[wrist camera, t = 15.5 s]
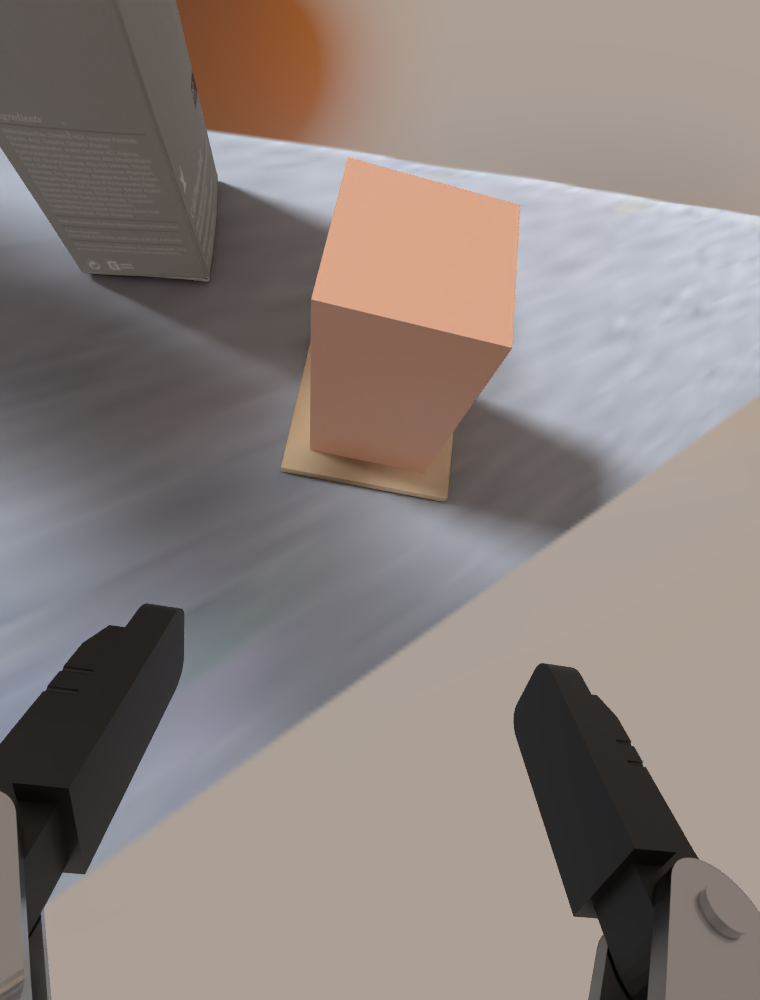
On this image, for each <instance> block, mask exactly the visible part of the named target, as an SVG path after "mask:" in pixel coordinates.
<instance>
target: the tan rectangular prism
mask: <svg viewBox="0 0 760 1000" xmlns="http://www.w3.org/2000/svg"><path fill="white" fill-rule="evenodd" d="M519 220H520V205H518V204H514V203H511V202H507V201H503V200H500V199H496V198H493V197H489V196H485V195H482V194H478V193H475V192H471V191H467V190H464V189H460V188H457V187H453V186H450V185H446V184H442V183H439V182H435V181H432V180H428V179H424V178H421V177H417V176H414V175H410V174H406V173H403V172H399V171H396V170H392V169H388V168H385V167H381V166H378V165H374V164H371V163H367V162H363V161H360V160H356V159H353V158H349V157H348V159H347V163H346V167H345V171H344V175H343V179H342V182H341V186H340V190H339V194H338V198H337V202H336V206H335V209H334V213H333V217H332V221H331V225H330V229H329V232H328V236H327V240H326V244H325V248H324V252H323V255H322V259H321V263H320V267H319V271H318V275H317V279H316V282H315V286H314V290H313V294H312V298H311V384H310V450H314V451H318V452H323V453H328V454H333V455H338V456H343V457H348V458H352V459H357V460H362V461H367V462H372V463H377V464H382V465H387V466H391V467H396V468H401V469H406V470H411V471H416V472H421V473H425V471H426V470H427V469H428V467H429V466H430V464H431V463H432V461H433V460H434V459H435V457H436V456H437V454H438V453H439V451H440V450H441V449H442V447H443V446H444V444H445V443H446V442H447V440H448V439H449V437H450V436H451V434H452V433H453V432H454V430H455V429H456V427H457V426H458V424H459V423H460V422H461V420H462V419H463V417H464V416H465V414H466V413H467V412H468V410H469V409H470V407H471V406H472V404H473V403H474V402H475V400H476V399H477V397H478V396H479V394H480V393H481V392H482V390H483V389H484V387H485V386H486V384H487V383H488V382H489V380H490V379H491V377H492V376H493V374H494V373H495V372H496V370H497V369H498V367H499V366H500V365H501V363H502V362H503V360H504V359H505V357H506V356H507V355H508V353H509V352H510V350H511V349H512V342H513V325H514V307H515V290H516V272H517V255H518V237H519Z"/></svg>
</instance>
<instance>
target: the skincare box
mask: <svg viewBox="0 0 760 1000" xmlns="http://www.w3.org/2000/svg"><path fill="white" fill-rule="evenodd" d="M0 147H1V149H2V150H3V152H4V153H5V155H6V156H7V158H8V159H9V161H10V162H11V164H12V165H13V167H14V168H15V170H16V171H17V173H18V175H19V176H20V178H21V179H22V181H23V182H24V184H25V185H26V187H27V188H28V190H29V191H30V193H31V194H32V196H33V197H34V199H35V200H36V202H37V203H38V205H39V206H40V208H41V210H42V211H43V213H44V214H45V216H46V217H47V219H48V220H49V222H50V223H51V225H52V226H53V228H54V229H55V231H56V232H57V234H58V236H59V237H60V239H61V240H62V242H63V243H64V245H65V246H66V248H67V250H68V251H69V253H70V254H71V256H72V257H73V259H74V260H75V262H76V263H77V265H78V266H79V268H80V269H81V271H82V272H84V273H93V274H105V275H128V276H149V277H161V278H174V279H187V280H195V281H203V282H208V281H209V280H210V269H211V262H212V255H213V248H214V239H215V229H216V217H217V197H218V177H217V173H216V169H215V164H214V160H213V156H212V151H211V147H210V143H209V139H208V135H207V131H206V127H205V123H204V118H203V114H202V110H201V106H200V101H199V97H198V93H197V89H196V84H195V80H194V75H193V72H192V68H191V64H190V60H189V56H188V51H187V47H186V43H185V39H184V35H183V30H182V26H181V22H180V17H179V13H178V9H177V4H176V0H0Z"/></svg>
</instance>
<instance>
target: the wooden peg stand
mask: <svg viewBox="0 0 760 1000" xmlns="http://www.w3.org/2000/svg"><path fill="white" fill-rule="evenodd" d="M310 384H311V341H310V346H309V350H308V354H307V358H306V363H305V367H304V371H303V375H302V380H301V384H300V388H299V392H298V397H297V401H296V405H295V409H294V414H293V418H292V422H291V426H290V431H289V435H288V439H287V443H286V448H285V452H284V456H283V460H282V465H281V471H282V472H288V473H293V474H298V475H304V476H309V477H314V478H320V479H325V480H330V481H336V482H341V483H346V484H352V485H357V486H362V487H368V488H373V489H378V490H384V491H389V492H394V493H400V494H405V495H410V496H416V497H421V498H426V499H432V500H437V501H442V502H445V501H446V500H447V497H448V486H449V475H450V464H451V454H452V443H453V433H452V434H451V436H450V437H449V439H448V440H447V442H446V443H445V444H444V446H443V447H442V449H441V450H440V451H439V453H438V454H437V456H436V457H435V459H434V460H433V461H432V463H431V464H430V466H429V467H428V469H427V470H426V471H425V473H421V472H416V471H411V470H406V469H401V468H396V467H391V466H387V465H382V464H377V463H372V462H367V461H362V460H357V459H352V458H348V457H343V456H338V455H333V454H328V453H323V452H318V451H314V450H310Z"/></svg>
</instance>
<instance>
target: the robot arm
mask: <svg viewBox="0 0 760 1000" xmlns="http://www.w3.org/2000/svg"><path fill="white" fill-rule="evenodd" d="M183 661H184V611H183V609H180V608H174V607H167V606H160V605H153V604H147V603H146V604H143V605H142V606H141V607H140V608H139V609H138V610H137V612H136V613H135V615H134V616H133V617H132V619H131V620H130V621H129V623H128V624H127V625H126V627H119V626H111V625H109V626H107V627H106V628H104V629H103V630H101V631H100V632H98V633H97V634H95V635H94V636H92V637H91V638H89V639H88V640H86V641H85V642H83V643H82V644H81V646H80V647H79V648H78V649H77V651H76V652H75V653H74V654H73V655H72V657H71V658H70V659H69V660H68V662H67V663H66V664H65V665H64V668H63V670H62V671H59V673H58V674H57V675H56V676H55V677H54V679H53V680H52V681H51V682H50V684H49V685H48V686H47V690H46V691H43V692H42V693H41V695H40V696H39V697H38V698H37V699H36V701H35V702H34V703H33V704H32V706H31V707H30V708H29V709H28V710H27V712H26V713H25V714H24V715H23V717H22V718H21V719H20V720H19V721H18V723H17V724H16V725H15V726H14V728H13V729H12V730H11V731H10V732H9V734H8V735H7V736H6V737H5V739H4V740H3V741H2V742H1V743H0V1000H51V990H50V977H49V966H48V954H47V944H46V930H45V918H44V906H45V904H46V903H47V901H48V899H49V897H50V895H51V893H52V891H53V889H54V887H55V886H56V884H57V882H58V880H59V878H60V876H61V874H62V872H64V873H76V874H85V873H86V871H87V869H88V867H89V865H90V863H91V861H92V859H93V857H94V855H95V853H96V851H97V849H98V847H99V845H100V843H101V841H102V839H103V837H104V834H105V832H106V830H107V828H108V826H109V824H110V822H111V820H112V818H113V816H114V814H115V812H116V810H117V808H118V806H119V804H120V802H121V800H122V798H123V796H124V794H125V792H126V790H127V788H128V786H129V784H130V782H131V779H132V777H133V775H134V773H135V771H136V769H137V767H138V765H139V763H140V761H141V759H142V757H143V755H144V753H145V751H146V749H147V747H148V745H149V743H150V741H151V739H152V737H153V735H154V733H155V731H156V729H157V727H158V724H159V722H160V720H161V718H162V716H163V714H164V712H165V710H166V708H167V706H168V704H169V702H170V700H171V698H172V696H173V694H174V692H175V690H176V687H177V685H178V682H179V679H180V676H181V672H182V668H183ZM514 730H515V735H516V738H517V741H518V744H519V747H520V751H521V754H522V757H523V760H524V763H525V766H526V769H527V772H528V776H529V779H530V782H531V785H532V788H533V791H534V794H535V798H536V801H537V804H538V807H539V810H540V813H541V816H542V819H543V822H544V826H545V828H546V832H547V835H548V838H549V841H550V844H551V847H552V850H553V853H554V857H555V859H556V863H557V866H558V869H559V872H560V875H561V878H562V882H563V885H564V888H565V891H566V894H567V897H568V900H569V903H570V906H571V909H572V913H573V916H575V917H588V918H598V920H599V923H600V925H601V928H602V931H603V934H604V935H603V936H602V937H601V939H600V940H599V943H598V947H597V952H596V958H595V964H594V970H593V975H592V981H591V988H590V994H589V999H588V1000H760V913H759V911H758V910H757V908H756V907H755V905H754V904H753V903H752V901H751V900H750V899H749V898H748V897H747V895H746V894H745V893H744V892H743V891H742V890H741V889H740V888H739V887H738V886H737V885H736V884H735V883H734V882H733V881H732V880H731V879H730V878H729V877H728V876H726V875H725V874H724V873H722V872H721V871H720V870H718V869H717V868H715V867H713V866H712V865H710V864H708V863H706V862H704V861H701V860H699V858H698V857H697V855H696V854H695V852H694V851H693V849H692V847H691V846H690V844H689V842H688V840H687V838H686V837H685V835H684V833H683V831H682V830H681V828H680V826H679V824H678V823H677V821H676V819H675V817H674V816H673V814H672V812H671V810H670V809H669V807H668V805H667V804H666V802H665V800H664V798H663V796H662V795H661V793H660V792H659V790H658V788H657V786H656V784H655V783H654V781H653V779H652V777H651V775H650V774H649V772H648V770H647V769H646V767H643V765H642V763H643V762H642V760H641V758H640V756H639V755H638V753H637V751H636V749H635V748H634V747H633V746H631V741H630V739H629V737H628V735H627V734H626V732H625V730H624V728H623V727H622V725H621V723H620V721H619V720H618V718H617V717H616V716H615V714H614V713H613V712H612V711H611V710H610V709H609V708H608V707H607V706H606V705H605V704H604V703H603V701H602V700H601V699H600V698H599V697H598V696H597V695H591V693H590V691H589V689H588V687H587V686H586V684H585V682H584V680H583V678H582V676H581V675H580V673H579V672H578V671H577V670H576V669H574V668H571V667H565V666H558V665H551V664H544V663H542V664H539V665H538V666H537V667H536V669H535V670H534V672H533V674H532V676H531V678H530V680H529V682H528V684H527V686H526V688H525V690H524V692H523V694H522V695H521V697H520V699H519V701H518V703H517V705H516V708H515V712H514Z"/></svg>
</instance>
